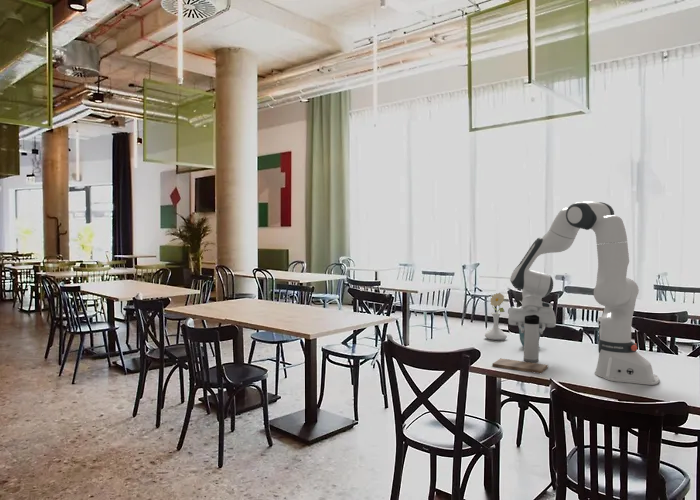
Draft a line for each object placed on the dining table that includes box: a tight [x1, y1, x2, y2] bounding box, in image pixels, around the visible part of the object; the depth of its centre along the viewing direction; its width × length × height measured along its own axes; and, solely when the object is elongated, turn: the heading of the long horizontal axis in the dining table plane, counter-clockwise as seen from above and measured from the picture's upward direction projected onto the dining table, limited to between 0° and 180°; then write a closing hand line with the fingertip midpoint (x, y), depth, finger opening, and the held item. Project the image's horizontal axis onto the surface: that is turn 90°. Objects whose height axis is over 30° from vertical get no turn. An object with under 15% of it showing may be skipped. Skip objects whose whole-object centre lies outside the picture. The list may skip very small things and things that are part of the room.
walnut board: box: [491, 357, 549, 374], centre depth 224 cm, size 20×11×1 cm, turn 57°
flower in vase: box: [484, 292, 508, 341], centre depth 278 cm, size 13×11×25 cm
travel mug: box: [523, 315, 540, 363], centre depth 234 cm, size 6×7×20 cm
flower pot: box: [518, 326, 542, 347], centre depth 262 cm, size 9×9×9 cm
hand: (531, 333), depth 234 cm, fingers closed on travel mug, 6 cm apart
